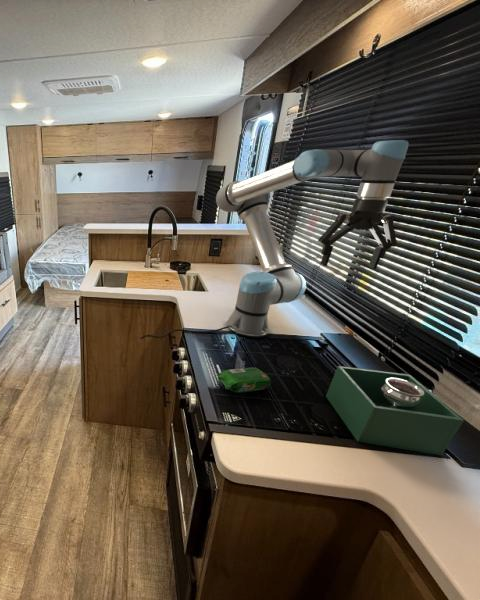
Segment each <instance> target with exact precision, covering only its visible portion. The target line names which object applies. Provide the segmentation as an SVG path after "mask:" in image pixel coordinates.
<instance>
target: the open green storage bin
mask: <svg viewBox="0 0 480 600" xmlns="http://www.w3.org/2000/svg"><path fill="white" fill-rule="evenodd" d="M388 378H398V379H402V380H406V381H408V382H411V383H413V384H415V385H417V386H418V387H420V388H421V389H422V390H423V391H424V394H423V395H422V396H421V401H420V402H419V403H418V404H417V405H415V406H412V407H401V406H397V407H396V409H395V408H391V407H392V405H393V404H392V403H391V402H389V401H388V400H387V399H386V398H385V396H384V395H383V393H382V387H383V385H384V384H385V383H386V380H387V379H388ZM325 397H326V399H327V401H328V402H329V404H330V405H331V406H332V407H333V409H334V410H335V412H336V413H337V415H338V416H339V417H340V419H341V420H342V422H343V423H344V425H345V426H346V427H347V429H348V430H349V432H350V433H351V434H352V436H353V438H354V439H355V440H356V442H358V443H364V444H368V445H369V444H370V445H375V446H382V447H387V448H392V449H400V450H406V451H412V452H416V453H422V454H429V455H436V456H442V455H443V454H444V453H445V451H446V450H447V448H448V446H449V445H450V444H451V442H452V441H453V438H454V437H455V436H456V434H457V433H458V431H459V430H460V428H461V426H462V425H463V424H464V422H465V420H464V419H463V418H462V417H461V416H460V415H459V414H457V413H456V412H455V411H453V410H452V408H450V407H449V406H448V405H447V404H445V403H444V402H443V401H442V400H441V399H439V398H438V397H437V396H436V395H435V394H434V393H432V391H430V390H429V389H428V388H427V387H425V386H424V385H423V384H422V383H421V382H419V381H418V380H417V379H416V378H415V377H413V375H411V374H409V373H408V374H407V373H398V372H392V371H391V372H390V371H382V370H375V369H374V370H373V369H365V368H357V367H350V366H341V365H337V367H336V370H335V372H334V375H333V377H332V380H331V382H330V384H329V387H328V390H327V392H326V395H325Z"/></svg>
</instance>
